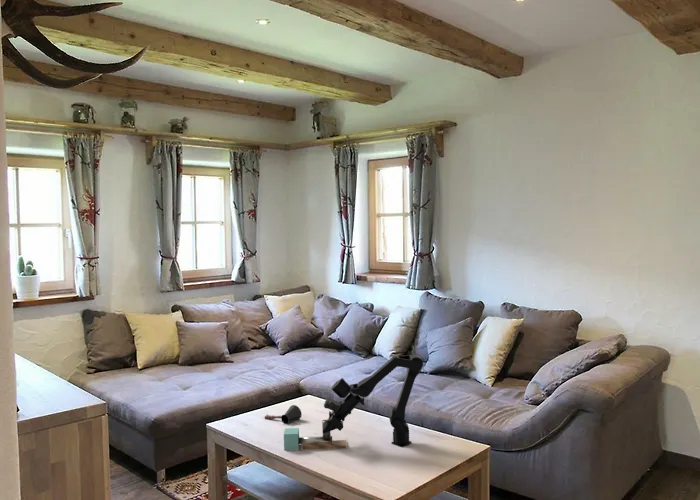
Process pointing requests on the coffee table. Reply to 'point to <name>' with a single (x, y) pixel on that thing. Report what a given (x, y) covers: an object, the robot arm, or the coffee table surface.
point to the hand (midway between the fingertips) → (323, 431)
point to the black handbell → (288, 415)
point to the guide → (324, 444)
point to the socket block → (291, 438)
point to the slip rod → (325, 437)
